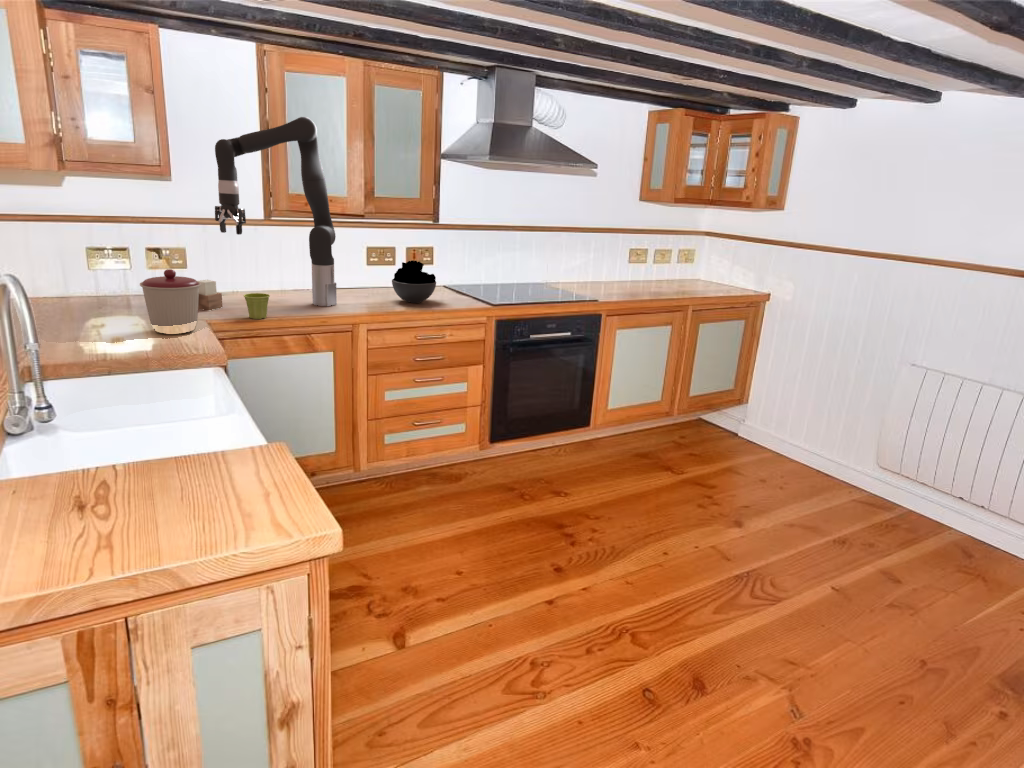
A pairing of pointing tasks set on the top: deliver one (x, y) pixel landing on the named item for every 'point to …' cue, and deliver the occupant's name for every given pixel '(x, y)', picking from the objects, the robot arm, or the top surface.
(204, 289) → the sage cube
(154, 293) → the canister
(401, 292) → the bowl of black rocks
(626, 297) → the top surface
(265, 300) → the plant pot
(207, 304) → the walnut block
